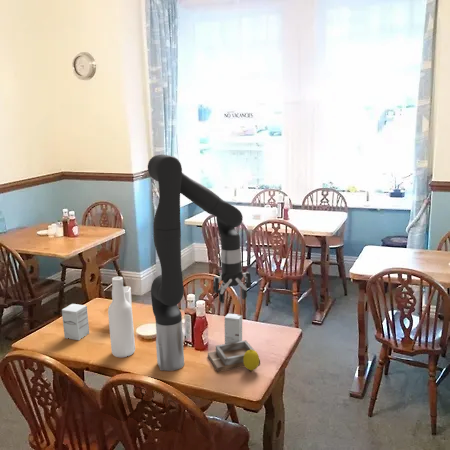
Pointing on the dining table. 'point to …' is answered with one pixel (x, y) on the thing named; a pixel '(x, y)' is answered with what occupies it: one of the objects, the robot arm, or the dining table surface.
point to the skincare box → (233, 328)
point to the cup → (126, 294)
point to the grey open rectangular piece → (229, 355)
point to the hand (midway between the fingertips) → (233, 300)
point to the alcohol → (121, 322)
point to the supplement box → (75, 321)
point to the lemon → (251, 359)
